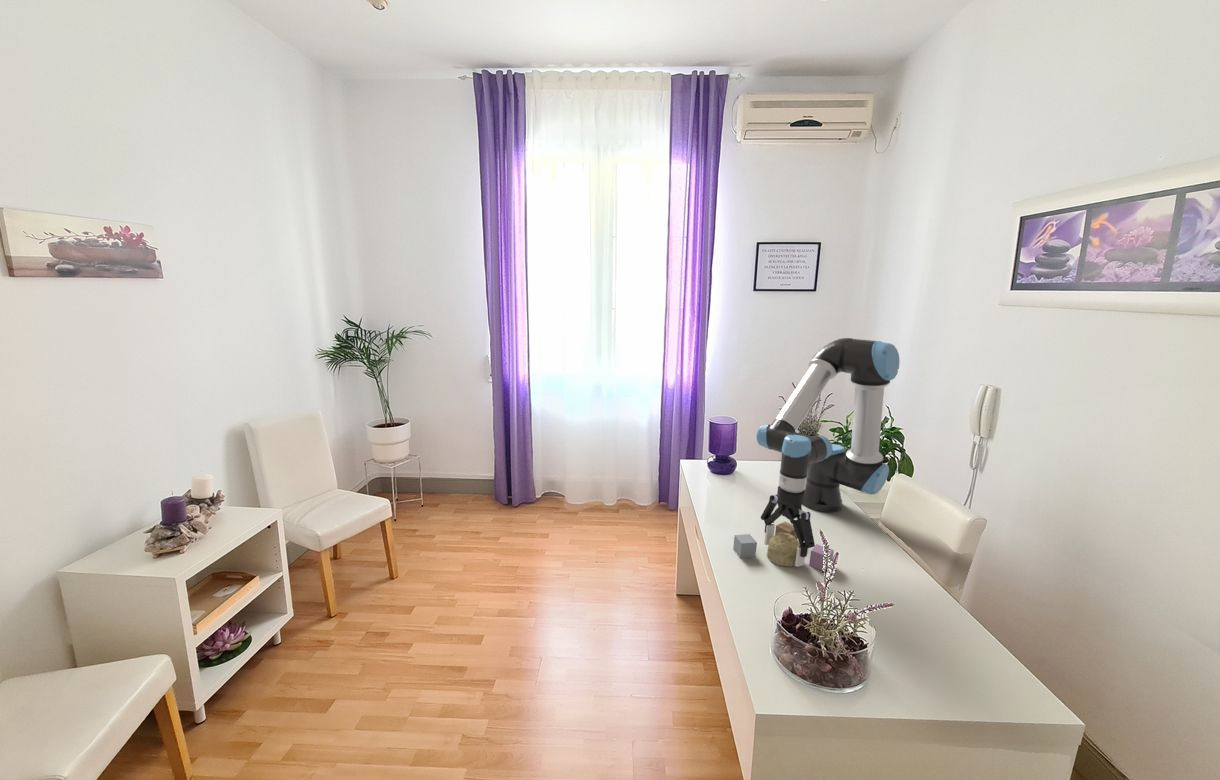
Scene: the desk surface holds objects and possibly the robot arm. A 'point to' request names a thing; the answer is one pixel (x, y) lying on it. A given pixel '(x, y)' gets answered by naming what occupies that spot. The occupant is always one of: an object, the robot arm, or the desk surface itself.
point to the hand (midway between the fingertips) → (783, 554)
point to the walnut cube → (786, 529)
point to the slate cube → (745, 546)
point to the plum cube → (818, 556)
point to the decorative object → (782, 549)
